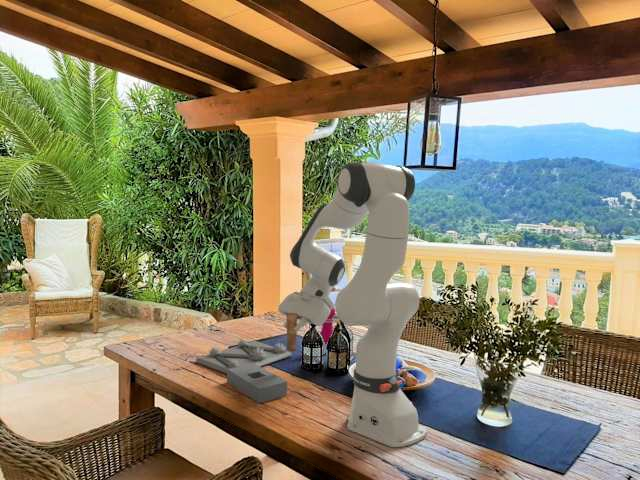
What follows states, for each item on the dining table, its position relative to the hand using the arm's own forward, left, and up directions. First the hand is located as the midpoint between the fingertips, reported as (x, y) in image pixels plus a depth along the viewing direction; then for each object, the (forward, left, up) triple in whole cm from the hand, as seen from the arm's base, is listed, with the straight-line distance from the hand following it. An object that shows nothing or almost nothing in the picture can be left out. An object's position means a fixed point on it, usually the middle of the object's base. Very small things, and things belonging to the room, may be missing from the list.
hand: (290, 328), depth 166 cm
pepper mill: (+19, -32, -19) cm, 41 cm away
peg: (0, -1, -7) cm, 7 cm away
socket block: (+2, +11, -18) cm, 22 cm away
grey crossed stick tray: (+28, 0, -19) cm, 34 cm away
